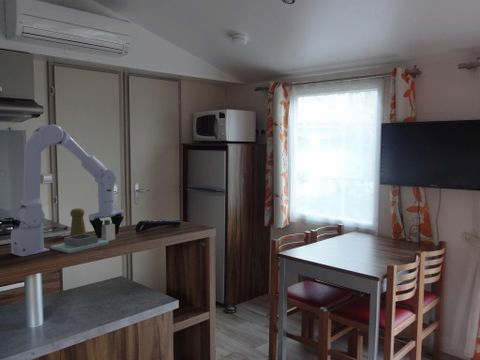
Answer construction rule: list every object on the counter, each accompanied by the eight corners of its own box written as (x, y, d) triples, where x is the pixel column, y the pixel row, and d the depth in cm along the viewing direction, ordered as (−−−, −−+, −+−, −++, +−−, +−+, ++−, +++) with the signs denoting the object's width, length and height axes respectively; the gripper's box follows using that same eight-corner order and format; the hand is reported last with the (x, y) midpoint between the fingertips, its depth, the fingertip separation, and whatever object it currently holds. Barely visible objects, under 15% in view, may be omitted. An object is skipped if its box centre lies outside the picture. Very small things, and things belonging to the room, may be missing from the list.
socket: (69, 253, 136) (68, 242, 135) (50, 248, 142) (50, 238, 141) (108, 243, 149) (108, 234, 148) (90, 239, 155) (90, 230, 155)
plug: (106, 241, 153) (105, 221, 152) (99, 240, 155) (99, 220, 154) (115, 239, 156) (114, 220, 155) (108, 238, 158) (108, 219, 157)
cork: (66, 236, 161) (65, 209, 160) (77, 233, 167) (76, 207, 166) (79, 237, 159) (78, 210, 158) (89, 234, 165) (88, 207, 164)
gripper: (96, 203, 146) (97, 240, 147) (128, 199, 158) (129, 233, 159) (84, 202, 150) (86, 238, 151) (116, 198, 162) (117, 231, 163)
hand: (107, 235), depth 155 cm, fingers open, 7 cm apart
